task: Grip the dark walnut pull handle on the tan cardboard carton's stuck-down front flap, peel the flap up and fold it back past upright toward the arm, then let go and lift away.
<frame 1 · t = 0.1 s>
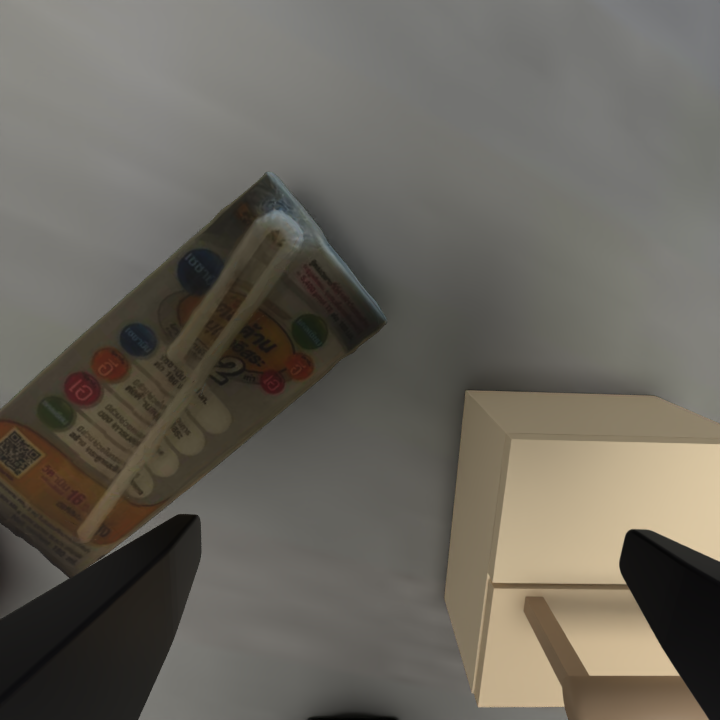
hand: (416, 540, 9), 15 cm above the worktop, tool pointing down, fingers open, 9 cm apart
beverage carton: (206, 361, 23), on the worktop
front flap: (633, 702, 17), point 9 cm above the worktop, hinge at 0.0°
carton: (543, 502, 25), on the worktop
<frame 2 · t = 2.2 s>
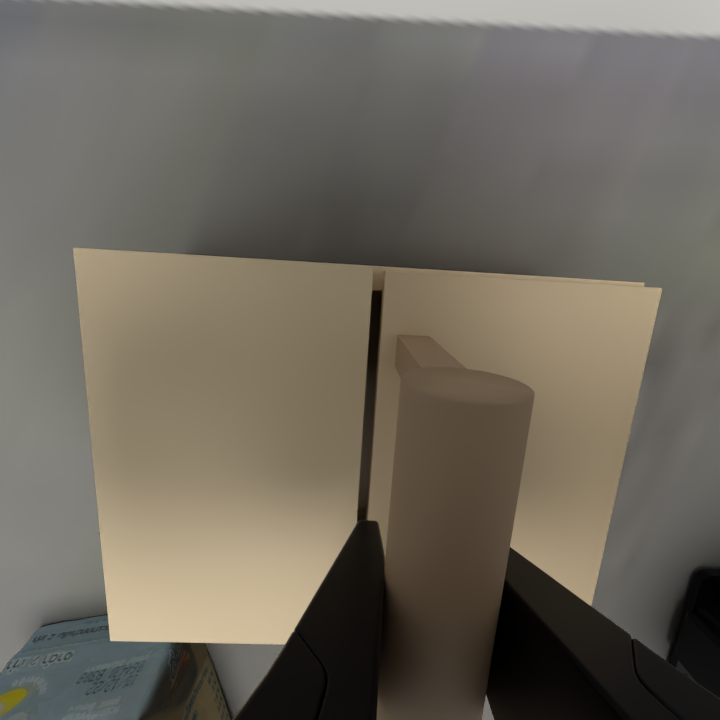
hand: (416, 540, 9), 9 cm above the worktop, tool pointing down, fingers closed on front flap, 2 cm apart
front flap: (533, 540, 9), point 9 cm above the worktop, hinge at 0.0°, touching gripper
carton: (357, 398, 17), on the worktop
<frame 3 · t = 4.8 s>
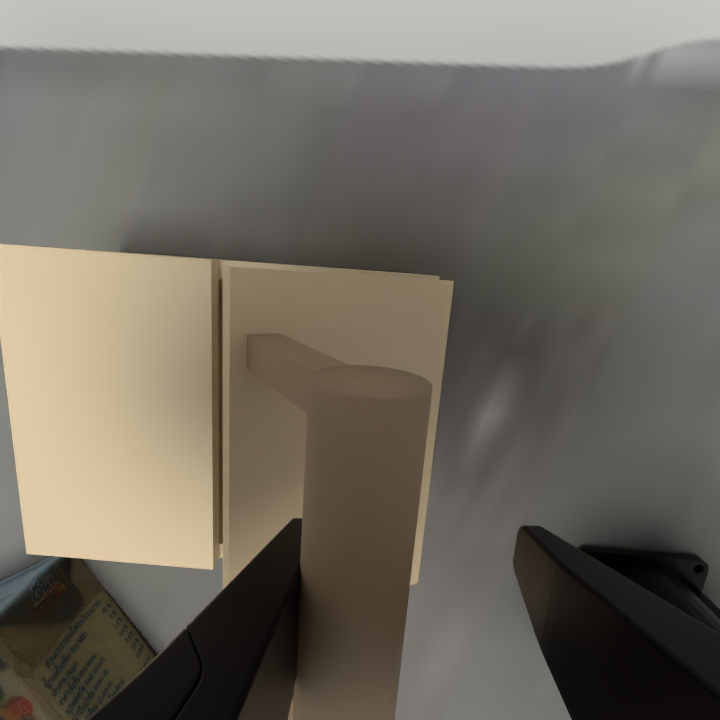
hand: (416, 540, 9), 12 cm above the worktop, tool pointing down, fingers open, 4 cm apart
beverage carton: (120, 681, 25), on the worktop
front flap: (396, 507, 10), point 10 cm above the worktop, hinge at 34.3°, touching gripper
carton: (265, 377, 20), on the worktop
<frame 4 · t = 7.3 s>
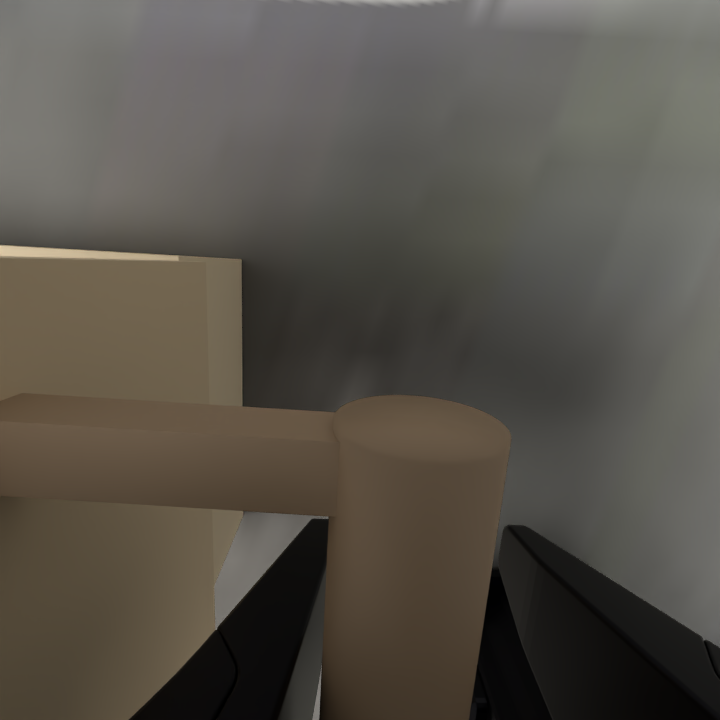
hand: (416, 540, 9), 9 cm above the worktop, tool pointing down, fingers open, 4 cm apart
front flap: (270, 565, 8), point 10 cm above the worktop, hinge at 87.3°
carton: (67, 388, 17), on the worktop
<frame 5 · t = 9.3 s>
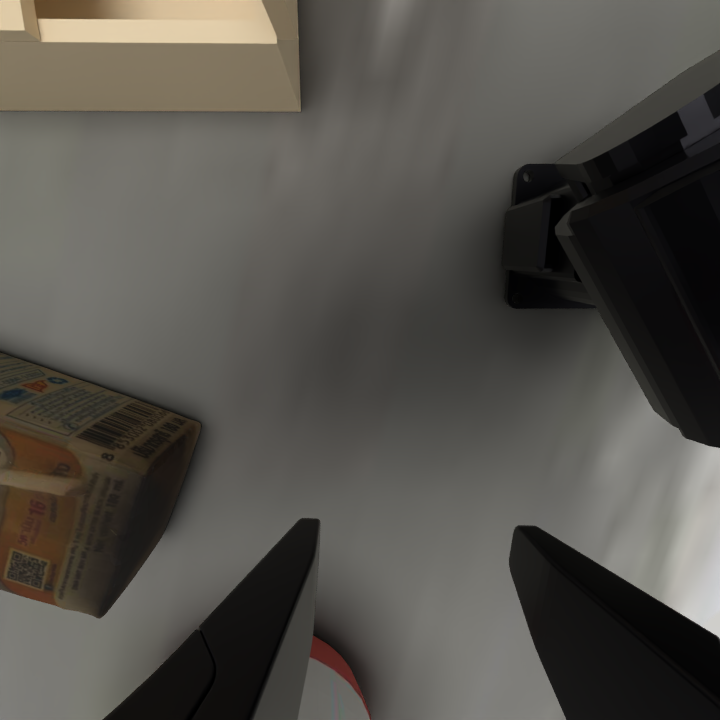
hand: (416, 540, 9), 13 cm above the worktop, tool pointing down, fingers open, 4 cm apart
beverage carton: (17, 419, 22), on the worktop
citrus juicer: (272, 679, 26), on the worktop
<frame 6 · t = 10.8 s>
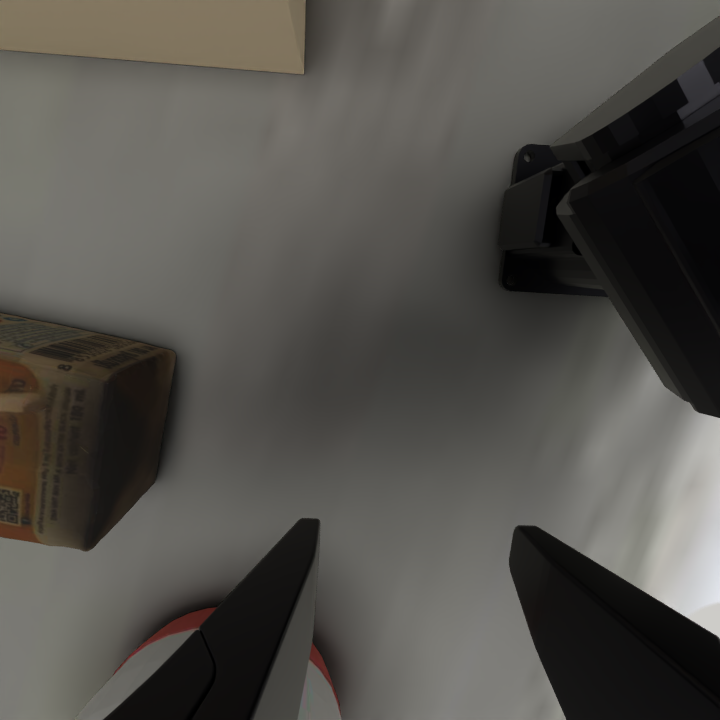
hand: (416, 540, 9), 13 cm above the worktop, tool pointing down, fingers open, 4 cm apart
citrus juicer: (240, 665, 25), on the worktop
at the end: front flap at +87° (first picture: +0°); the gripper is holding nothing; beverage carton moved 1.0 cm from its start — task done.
